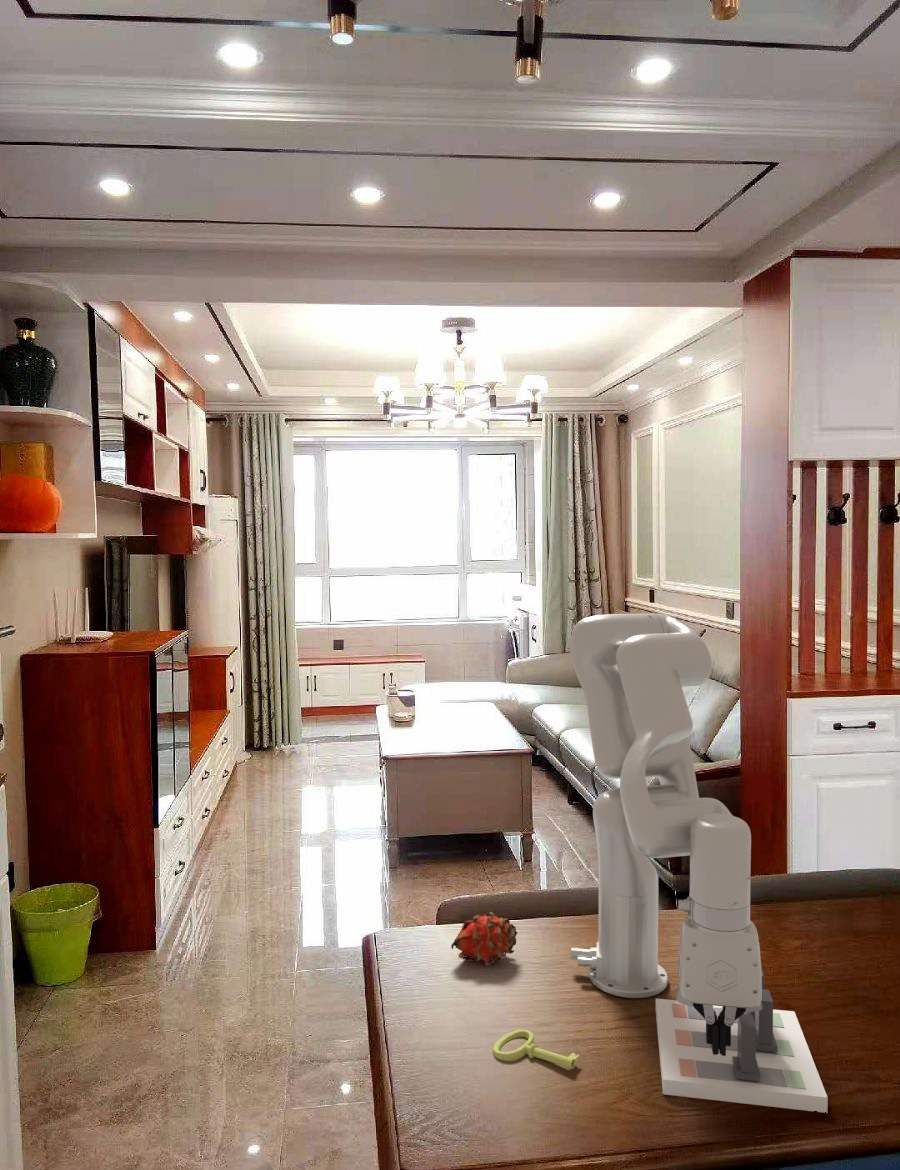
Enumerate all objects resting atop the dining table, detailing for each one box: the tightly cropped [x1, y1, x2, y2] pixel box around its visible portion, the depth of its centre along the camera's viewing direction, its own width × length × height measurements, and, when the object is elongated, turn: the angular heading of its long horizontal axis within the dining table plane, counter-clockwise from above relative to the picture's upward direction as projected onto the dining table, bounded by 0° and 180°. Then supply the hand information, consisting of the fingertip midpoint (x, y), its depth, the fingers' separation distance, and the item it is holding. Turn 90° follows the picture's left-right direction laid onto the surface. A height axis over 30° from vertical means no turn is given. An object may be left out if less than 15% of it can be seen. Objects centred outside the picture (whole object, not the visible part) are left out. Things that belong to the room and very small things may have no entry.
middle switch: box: [755, 988, 777, 1052], centre depth 117 cm, size 3×4×7 cm
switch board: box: [655, 998, 829, 1114], centre depth 118 cm, size 20×20×2 cm
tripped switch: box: [732, 1014, 761, 1081], centre depth 111 cm, size 3×4×7 cm
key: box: [492, 1029, 581, 1069], centre depth 120 cm, size 7×12×2 cm, turn 71°
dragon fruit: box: [450, 911, 519, 967], centre depth 146 cm, size 8×8×12 cm
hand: (718, 1049), depth 112 cm, fingers closed
